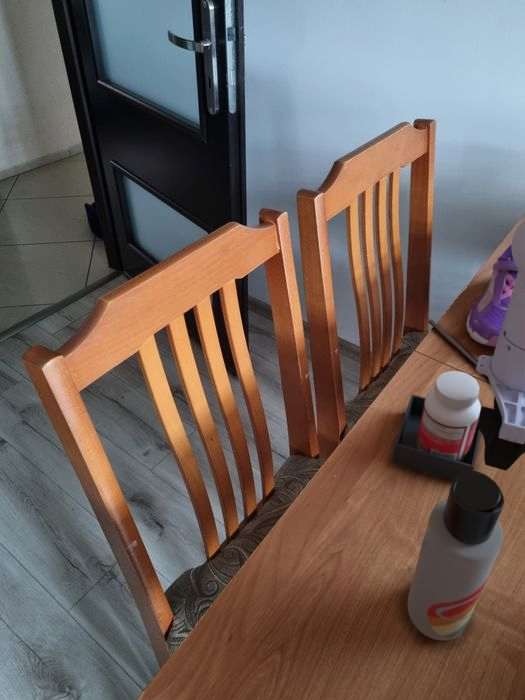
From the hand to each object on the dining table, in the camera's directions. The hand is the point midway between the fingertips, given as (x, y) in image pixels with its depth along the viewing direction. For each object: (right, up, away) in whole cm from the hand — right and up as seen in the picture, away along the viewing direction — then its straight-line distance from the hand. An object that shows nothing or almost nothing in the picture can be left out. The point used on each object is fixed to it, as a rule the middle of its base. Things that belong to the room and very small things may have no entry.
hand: (500, 437), depth 57 cm
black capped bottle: (-7, -17, -3) cm, 18 cm away
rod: (+5, +8, +24) cm, 26 cm away
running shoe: (+14, +14, +32) cm, 38 cm away
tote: (-3, -3, +13) cm, 13 cm away
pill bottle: (-2, -3, +12) cm, 12 cm away
